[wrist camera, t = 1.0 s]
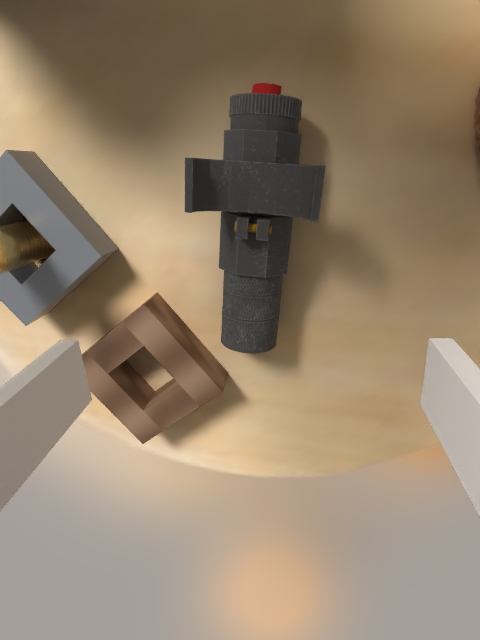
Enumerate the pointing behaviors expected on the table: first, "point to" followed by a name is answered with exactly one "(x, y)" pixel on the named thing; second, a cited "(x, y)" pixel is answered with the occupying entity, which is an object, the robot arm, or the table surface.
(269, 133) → the laser sight
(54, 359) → the robot arm
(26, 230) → the brass pin
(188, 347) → the dock block
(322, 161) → the table surface
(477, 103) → the brown lumpy rounded lump
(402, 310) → the table surface
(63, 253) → the mount block
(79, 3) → the table surface
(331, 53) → the table surface
